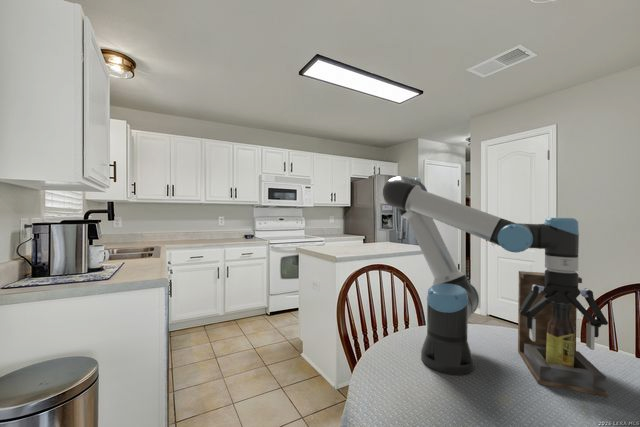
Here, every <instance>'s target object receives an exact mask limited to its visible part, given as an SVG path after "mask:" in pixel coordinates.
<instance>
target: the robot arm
mask: <svg viewBox="0 0 640 427" xmlns="http://www.w3.org/2000/svg"><path fill="white" fill-rule="evenodd" d="M382 197H383V200H384V202H385V203H386V204H388V205H389V206H390V207H393V208H395V209H398V211H399V214H400V216H401V218H403V219H405V220H407V221H408V225H409V226H410V229H411V231H412V232H413V235H414V238H415V239H416V242H417V244H418V246H419V248H420V250H421V252H422V254H423V256H424V259H425V261H426V263H427V266H428V268H429V270H430V272H431V275H432V276H433V282H432V286H430V287H429V288H428V290H427V295H426V304H427V305H426V307H427V309H426V311H427V312H426V317H427V318H426V319H427V320H426V323H427V324H426V329H427V330H426V336H425V340H424V342H423V344H422V347H421V349H420V350H421V351H420V358H421V361H422V363H423V364H424V365H426V366H427V367H428V368H431V369H433V370H435V371H438V372H441V373H443V374H448V375H457V376H458V375H460V376H461V375H468V374H470V373H472V372H473V371H474V364H475V362H474V357H473V354H472V351H471V348H470V347H471V346H470V345H469V341H468V327H469V326H468V320H469V318H470V317H471V316H472V314H474V313H475V312H476V310H477V309H478V306H479V302H480V296H479V293H478V291H477V289H476V287H475V286H474V285H473V284H472V283H471V282H469V280H468V278H467V276H466V274H465V273H464V272H462V271H460V270H459V269H458V267H457V265H456V264H455V262H454V260H453V257H452V255H451V254H450V251H449V249H448V247H447V245H446V243H445V241H444V239H443V237H442V235H441V233H440V231H439V229H438V228H439V227H437V225H436V223H435V221H438V222H440V223H443V224H446V225H448V226H451V227H452V228H455V229H458V230H460V231H463V232H466V233H468V234H470V235H472V236H476V237H478V238H480V239H483V240H485V241H488V242H489V243H492V244H494V245H497V246H500V247H501V248H502V249H504V250H506V251H507V252H511V253H521V252H522V253H523V252H525V251H527V250H528V249H539V250H544V268H545V270H544V273H545V284H544V286H543V287H542V286H537V285H535V284H532V286H531V292H530V293H529V295H528V296H527V298H526V299H525V301H524V302H523V304H522V306H521V307H520V309H519V313H520V314H521V315H523V316H526V327H527V328H528V329H530V339H531V340H532V341H534V342H535V334H536V319H535V318H534V316H535V315H536V314H537V313H538V312H540V311H541V310H542V309H543V308H544V307H545V306H547V305H548V304H550V303H551V302H552V301H553V302H555V303H565V304H569V303H572V304H573V305H574V306H575V307H576V310H578V311H579V312H580V313H581V314H582V315H583V317H585V318H586V319H587V321H588V322H586V323H585V324H586V326H585V327H586V328H585V330H586V335H585V337H586V338H585V340H586V343H585V344H586V347H587V348H588V349H590V350H591V351H595V338H599V334H600V333H599V332H600V331H599V330H600V329H599V328H602V326H608V324H609V322H608V320H607V318H606V316H605V315H604V313H603V311H602V310H601V308H600V307H599V304H598V303H597V302H596V300H595V298H594V291H592V290H591V289H590V288H583V289H579V283H578V277H579V273H577V272H578V271H579V246H580V245H579V244H580V243H579V242H580V239H579V238H580V233H579V221H578V220H577V219H576V218H573V217H546V218H545V220H544V223H519V222H517V223H516V222H513V221H511V220H508V219H505V218H502V217H499V216H497V215H494V214H490V213H488V212H487V211H486V212H485V211H483V210H480V209H477V208H474V207H471V206H468V205H465V204H463V203H459V202H457V201H454V200H451V199H449V198H446V197H443V196H440V195H437V194H435V193H433V192H432V193H431V192H428V189H427V187H426V186H425V185H424V184H423V183H422V182H421V181H419V180H418V179H414V178H408V177H405V176H395V177H391V178H389V179H388V180H387V181H386V182H385V184H384V186H383V188H382ZM434 220H435V221H434ZM541 291H544V292H545V293H546V294H545V295H544V296H543V297H542V299H541V300H540V301H539V302H537V303H536V304H535V305H534V306H533V307H532V308H530V306H531V305H532V303H533V302H534V300H535V299H536V297H537V295H538V293H541ZM579 295H581V296H582V297H583V298H584V299H585V301H586V302H587V304H588V306H589V307H590V309H591V311H592V313H593V314H594V316H595V317H594V316H593V315H592V314H591V313H590V312H589V311H588V310H587V309H586V307H584V306H583V305H582V303H581V302H580V301H579V300H578V299H577V298H578V297H579ZM529 308H530V309H529Z"/></svg>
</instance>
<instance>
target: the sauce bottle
mask: <svg viewBox="0 0 640 427" xmlns="http://www.w3.org/2000/svg"><path fill="white" fill-rule="evenodd" d="M570 309H571V308H570V304H565V303H555V302H553V317H552V319H551V320H550V321H549V322H548V331H547V344H546V362H547V363H549V364H555V365H561V366H567V367H573V368H574V343H575V332H574V330H573V327H572V324H571V322H570V317H569V314H570Z"/></svg>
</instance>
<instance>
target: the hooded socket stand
mask: <svg viewBox="0 0 640 427" xmlns="http://www.w3.org/2000/svg"><path fill="white" fill-rule="evenodd" d="M582 283H583V278H582V277H580V276H578V284H582ZM532 284H535V285H537V286H542V287H543V286H544V284H545V272H537V271H536V272H535V271H524V270H523V271H522V270H518V294H517V295H518V304H517V305H518V312H517V314H518V315H517V319H518V320H517V321H518V322H517V324H518V325H517V353H518V355H519V356H520V357H521V359H522V360H523V362H524V364H525V365H526V367H527V368H528V370H529V372H530V373H531V374H532V376H533V378H534V380H535V382H536V383H537V384H538V385H544V386H548V387H554V388H559V389H564V390H570V391H576V392H581V393H586V394H590V395H591V394H592V395H598V396H603V397H607V398H608V397H609V392H608V391H607V387H606V386H607V376H606V375H604V373H602V372H601V371H600V370H599V369H598V368H597V367H596V366H595V365H594V364H593V363H592V362H591V361H590V360H589V359H588V358H586V357H585V356H584V355H583V354H582V353H581V352H580V351H578V350H577V308H576V307H575V306H574V305H573V304H572V303H569V304H570V308H571V309H570V314H569V317H570V322H571V324H572V327H573V330H574V332H575V343H574V368H573V367H567V366H561V365H555V364H549V363H547V362H546V344H547V331H548V322H549V321H550V320H551V319H552V317H553V301H552V302H551V303H550V304H548V305H547V306H545V307H544V308H543V309H542V310H541V311H540V312H538V313H537V314H536V315H535V316H534V318H535V319H536V334H535V342H534V341H532V340H531V339H530V329H528V328H527V327H526V316H523V315H521V314H520V313H519V309H520V307H521V306H522V304H523V302H524V301H525V299H526V298H527V296H528V295H529V293H530V292H531V286H532ZM545 294H546V293H545V292H544V291H541V293H538V295H537V297H536V299H535V300H534V302H533V303H532V305H531V306H530V308H532V307H533V306H534V305H535V304H536V303H537V302H539V301H540V300H541V299H542V297H543V296H544V295H545ZM530 308H529V309H530Z"/></svg>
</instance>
